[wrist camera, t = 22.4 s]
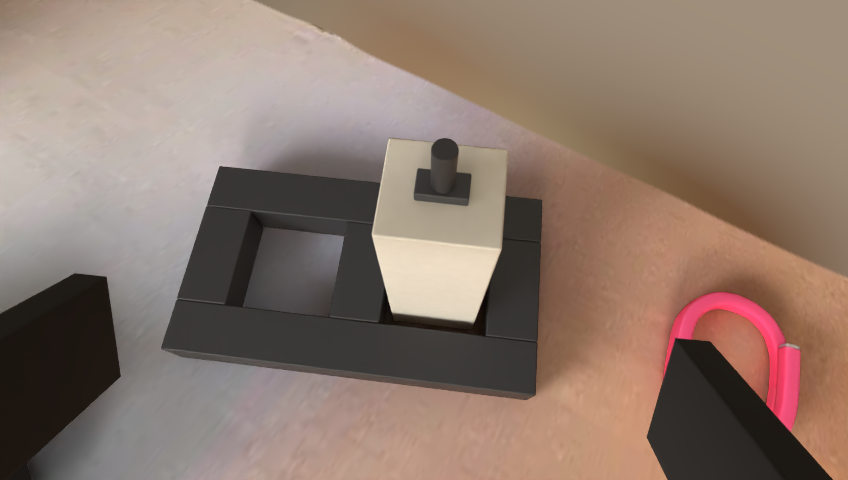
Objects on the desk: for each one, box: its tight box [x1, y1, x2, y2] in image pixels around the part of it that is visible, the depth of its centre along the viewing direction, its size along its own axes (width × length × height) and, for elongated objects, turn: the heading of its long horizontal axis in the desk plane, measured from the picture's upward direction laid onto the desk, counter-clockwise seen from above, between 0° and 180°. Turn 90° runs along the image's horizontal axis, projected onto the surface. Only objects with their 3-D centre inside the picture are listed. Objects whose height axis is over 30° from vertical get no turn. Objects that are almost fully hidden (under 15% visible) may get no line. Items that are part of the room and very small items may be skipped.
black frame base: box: [161, 166, 542, 400], centre depth 27 cm, size 10×18×2 cm, turn 83°
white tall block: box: [372, 138, 508, 330], centre depth 21 cm, size 4×4×14 cm
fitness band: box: [663, 292, 801, 431], centre depth 25 cm, size 8×6×2 cm
